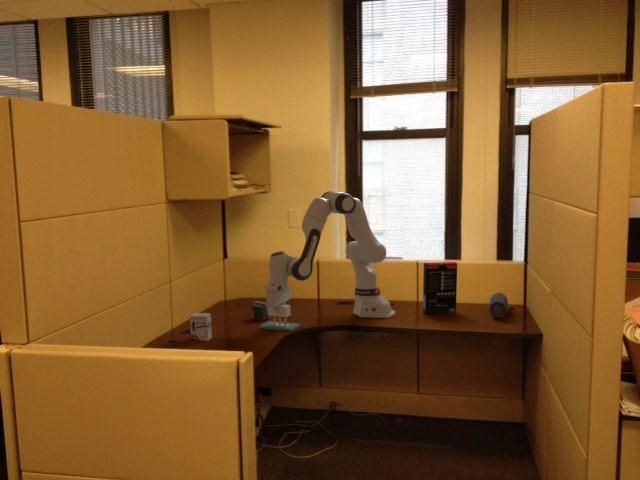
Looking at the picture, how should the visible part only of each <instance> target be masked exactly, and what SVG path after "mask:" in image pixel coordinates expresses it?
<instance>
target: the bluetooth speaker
mask: <svg viewBox="0 0 640 480" xmlns="http://www.w3.org/2000/svg"><path fill="white" fill-rule="evenodd" d="M508 307H509V301H508V297H507V296H506V295H505V294H504V293H502V292H496V293H494V294H493V295H492V296H491V298H489V304H488V311H489V313H490V315H491V316H492V317H494V318H502V317H505V315H506V314H507V311H508Z"/></svg>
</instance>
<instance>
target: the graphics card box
mask: <svg viewBox="0 0 640 480" xmlns="http://www.w3.org/2000/svg"><path fill="white" fill-rule="evenodd" d="M457 283H458V263H457V262H455V261H445V262H444V261H443V262H441V261H439V262H424V263H423V283H422V285H423V286H422V290H423V291H422V312H423V313H424V314H426V315H436V314H437V315H438V314H439V315H440V314H456V313H457V290H458V289H457Z"/></svg>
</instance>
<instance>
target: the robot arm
mask: <svg viewBox="0 0 640 480" xmlns="http://www.w3.org/2000/svg"><path fill="white" fill-rule="evenodd" d="M332 213H333V214H341V215H343V216H344V218H345V221H346V226H347V230H348V233H349V235H350V237H351V238H353V239H354V240H353V241H349V242H348V243H347V245H346V247H345V254H346V257H347V258H348V260H349V261H351V264H352V266H353V270H354V275H355V287H354V297H355V299H354V300H355V303H354V308H353V313H352V314H353V315H355V316H358V317H360V318H377V319H378V318H380V319H381V318H382V319H383V318H385V319H387V318H392V317H393V316H395V315H396V310H393V309H392V306H391V303H390V301H389V299H387V298H386V297H384V296H382V294H381V288H379V287H378V286H377V272H376V270H375V269H374V268H373V267H372V265H371V264H378V263H382V262H383V261H384V260H386V257H387V248H386V246H385V245H383V243H381V242H380V241H379V240H378V238H377V237H376V236H375V235H374V232H373V231H372V229H371V226H370V222H369V220H368V217H367V216H368V215H367V213H366V210H365V207H364V205H363V203H362V200H360V199H359V198H357V197H353V195H351V194H349V193H347V192H341V191H326V192H324V193H323V194H322V195H321V196H319V197H315V198H314V199H312V201H311V203H310V204H309V206H308V207H307V210H306V212H305V215H304V216H303V218H302V222H301V230H302V232H303V235H304V237H305V244H304V246H303V248H302V252H301V254H300V257H296V256H293V255H291V254H289V253H287V252H286V251H282V250H281V251H276V252H273V253H271V255H270V257H269V262H268V263H269V266H268V267H269V269H268V270H269V274H270V275H269V276H270V277H269V282H268V284H267V285H266V286H265V287H264V288H265V291H266V293H265V303H266V304H267V306H268V307H273V308H274V312H275V314H278V313H279V310H278V305H279V304H282V305H287V304H286V302H287V301H290V300H291V297H292V291H291V286H290V285H289V282H288V281H289V280H288V279H289V278H288V277H293V278H295V279H296V280H297V281H300V282H303V281H307V280H308V279H309V278H310V277H312V274H313V271H314V270H313V268H314V267H313V266H314V265H313V263H314V260H315V257H316V253H317V250H318V247H319V245H320V244H319V243H320V240H321V236H322V232H323V230H324V227H325V225H326V223H327V221H328V217H329V216H330V214H332Z"/></svg>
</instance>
